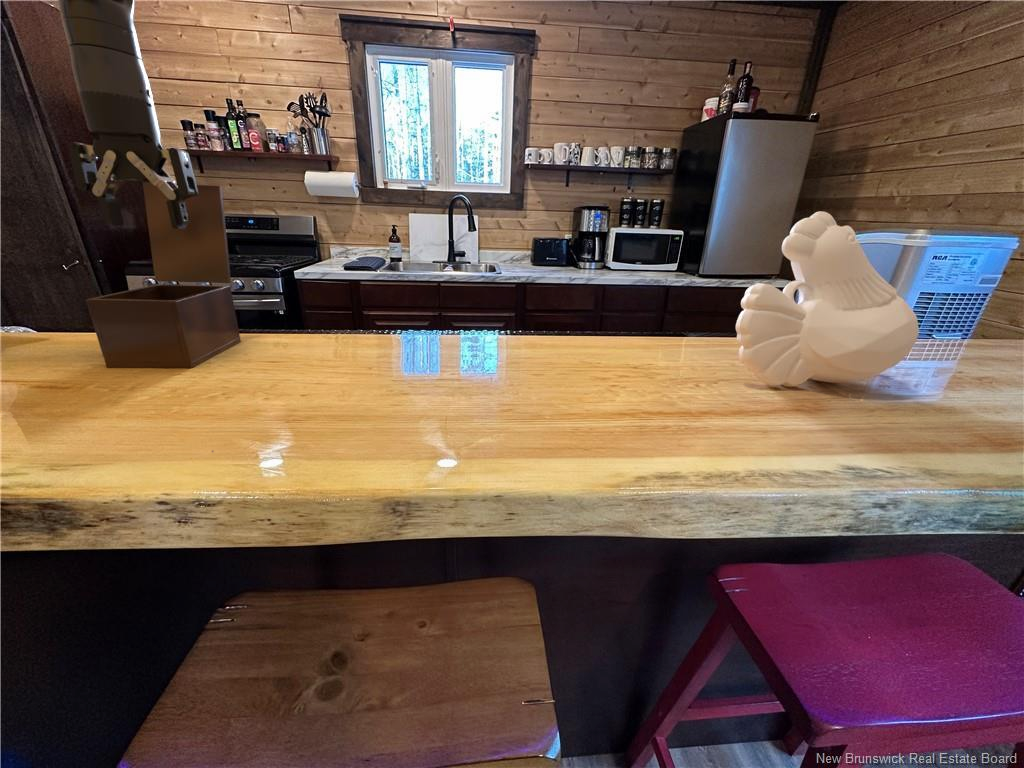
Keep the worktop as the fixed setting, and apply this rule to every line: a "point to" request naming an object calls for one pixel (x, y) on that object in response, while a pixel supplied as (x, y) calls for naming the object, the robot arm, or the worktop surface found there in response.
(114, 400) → the worktop surface
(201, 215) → the lid
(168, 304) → the chest
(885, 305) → the decorative rooster
